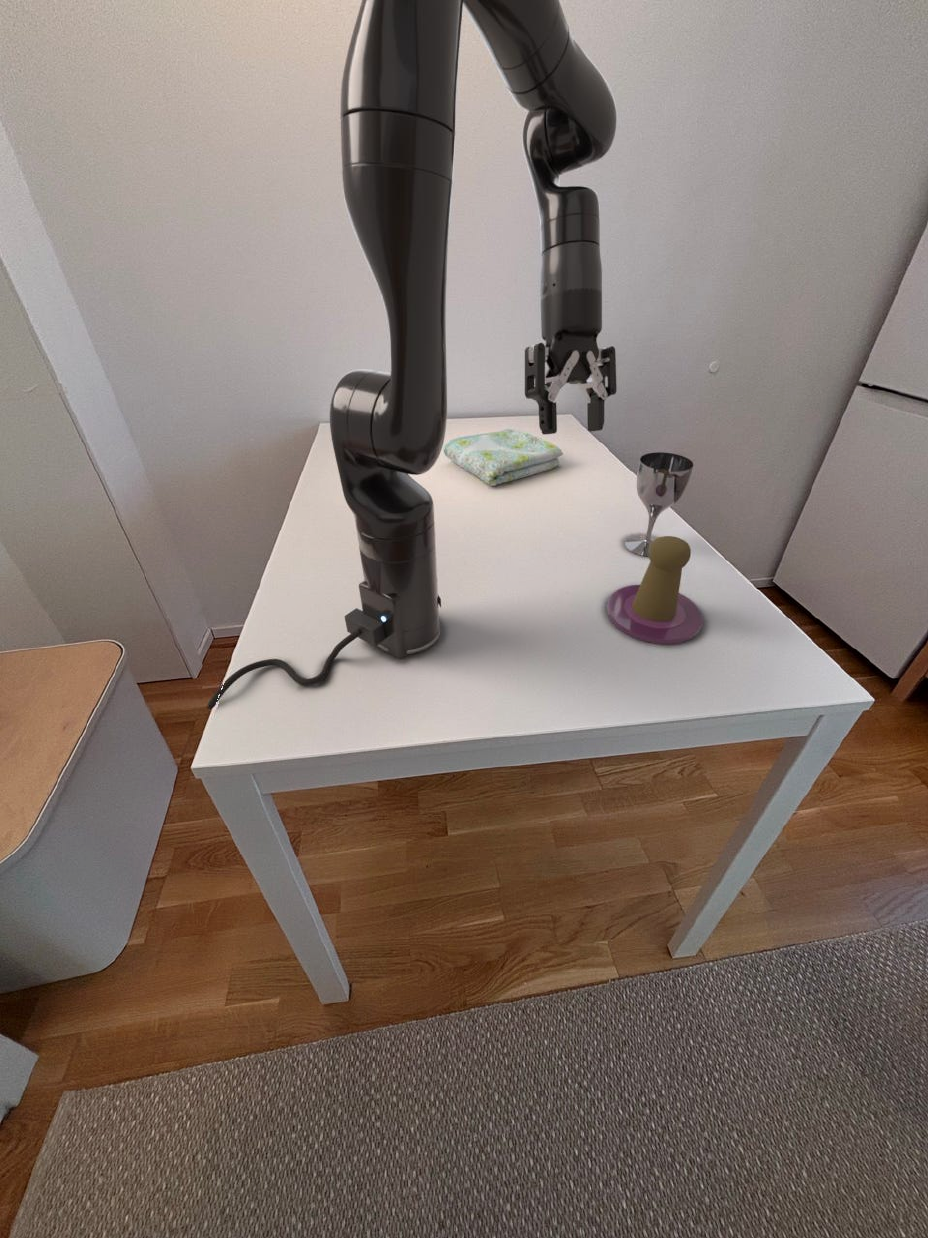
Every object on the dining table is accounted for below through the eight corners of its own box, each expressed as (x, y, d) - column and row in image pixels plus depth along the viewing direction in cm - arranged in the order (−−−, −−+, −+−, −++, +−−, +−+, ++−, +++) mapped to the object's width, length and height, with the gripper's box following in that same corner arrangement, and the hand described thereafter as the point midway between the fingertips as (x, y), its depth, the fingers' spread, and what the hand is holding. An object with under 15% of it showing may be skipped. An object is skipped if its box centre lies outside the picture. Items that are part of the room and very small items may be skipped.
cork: (678, 624, 71) (700, 555, 64) (633, 619, 72) (650, 550, 65) (673, 598, 76) (693, 532, 69) (631, 594, 77) (646, 528, 70)
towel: (564, 466, 117) (567, 444, 114) (488, 489, 107) (489, 466, 104) (514, 443, 129) (515, 422, 125) (442, 462, 119) (441, 440, 116)
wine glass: (662, 562, 85) (686, 475, 76) (615, 549, 88) (633, 464, 79) (675, 542, 90) (698, 458, 81) (630, 530, 94) (648, 448, 84)
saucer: (683, 657, 67) (685, 652, 66) (591, 620, 73) (592, 615, 73) (712, 608, 75) (714, 603, 75) (627, 579, 81) (629, 574, 81)
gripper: (548, 279, 58) (553, 433, 63) (633, 290, 65) (631, 427, 70) (507, 298, 64) (514, 437, 69) (588, 306, 71) (589, 431, 76)
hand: (573, 432), depth 69 cm, fingers open, 8 cm apart
